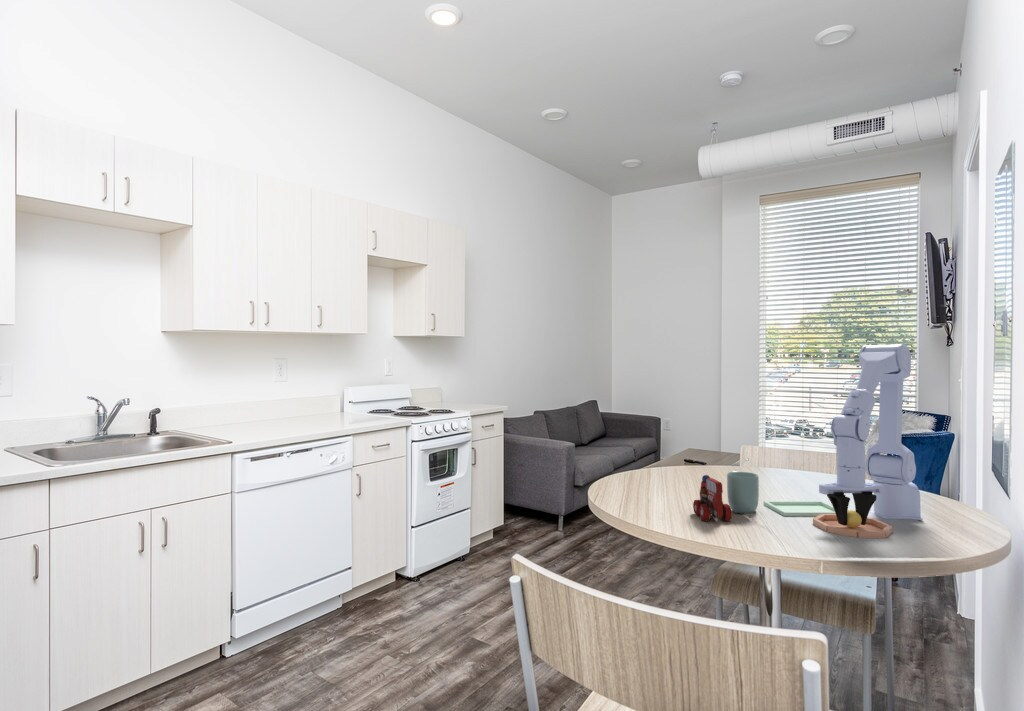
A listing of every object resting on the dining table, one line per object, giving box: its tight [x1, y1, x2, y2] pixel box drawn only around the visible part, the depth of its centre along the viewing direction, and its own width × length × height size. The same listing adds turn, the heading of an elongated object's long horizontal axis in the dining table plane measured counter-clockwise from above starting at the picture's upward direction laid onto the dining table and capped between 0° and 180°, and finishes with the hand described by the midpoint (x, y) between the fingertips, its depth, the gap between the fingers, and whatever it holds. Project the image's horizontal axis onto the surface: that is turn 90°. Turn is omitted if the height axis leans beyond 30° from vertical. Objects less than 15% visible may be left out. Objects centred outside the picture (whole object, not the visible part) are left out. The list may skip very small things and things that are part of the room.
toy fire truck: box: [692, 474, 733, 522], centre depth 141 cm, size 7×12×10 cm, turn 0°
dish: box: [812, 514, 894, 539], centre depth 130 cm, size 15×15×2 cm
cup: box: [726, 471, 760, 515], centre depth 146 cm, size 8×8×10 cm
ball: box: [847, 509, 862, 528], centre depth 130 cm, size 4×4×4 cm
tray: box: [763, 500, 836, 517], centre depth 146 cm, size 16×12×2 cm
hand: (851, 524), depth 130 cm, fingers closed on ball, 4 cm apart
